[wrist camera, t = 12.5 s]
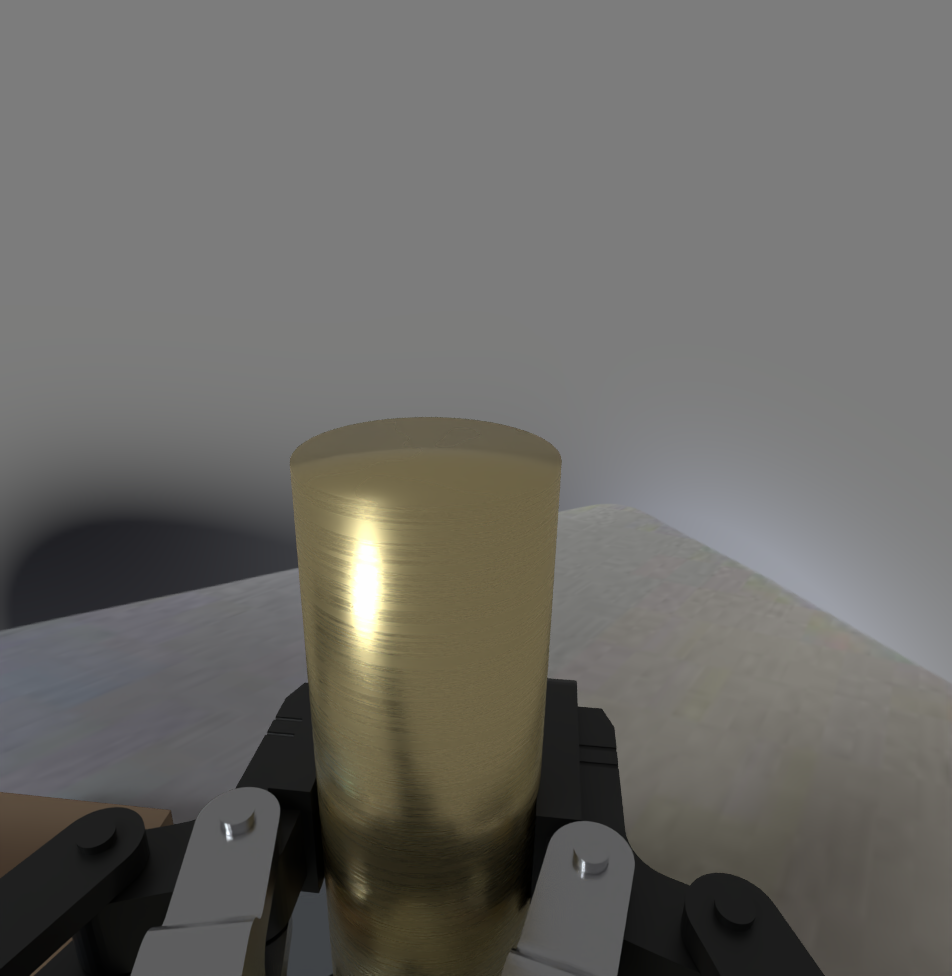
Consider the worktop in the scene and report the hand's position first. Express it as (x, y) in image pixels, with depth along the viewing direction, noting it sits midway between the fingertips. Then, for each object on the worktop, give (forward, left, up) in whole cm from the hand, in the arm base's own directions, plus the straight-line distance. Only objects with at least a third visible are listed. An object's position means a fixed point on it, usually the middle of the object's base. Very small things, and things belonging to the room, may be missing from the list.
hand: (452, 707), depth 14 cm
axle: (+2, -2, -9) cm, 10 cm away
